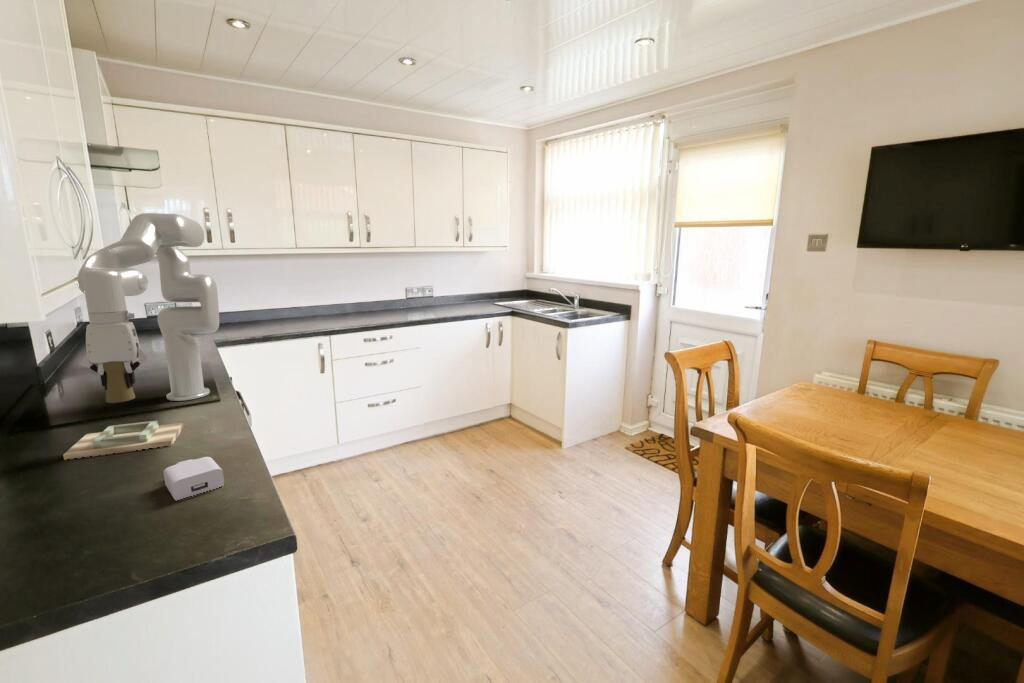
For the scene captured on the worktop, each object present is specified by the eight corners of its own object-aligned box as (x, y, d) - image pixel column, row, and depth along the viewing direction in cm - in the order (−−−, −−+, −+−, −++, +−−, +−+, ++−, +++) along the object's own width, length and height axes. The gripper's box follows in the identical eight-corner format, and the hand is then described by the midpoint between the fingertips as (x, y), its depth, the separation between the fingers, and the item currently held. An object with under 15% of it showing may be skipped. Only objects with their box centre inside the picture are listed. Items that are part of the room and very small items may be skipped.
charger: (206, 465, 113) (224, 487, 103) (159, 478, 107) (174, 503, 97) (203, 447, 113) (222, 467, 102) (156, 459, 106) (171, 482, 96)
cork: (132, 394, 127) (126, 354, 125) (138, 398, 123) (132, 358, 121) (103, 399, 122) (96, 358, 120) (108, 404, 118) (101, 362, 116)
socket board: (87, 439, 127) (85, 426, 126) (183, 427, 136) (182, 416, 135) (64, 460, 115) (61, 446, 114) (171, 445, 123) (169, 433, 123)
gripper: (153, 315, 125) (162, 380, 129) (73, 318, 119) (84, 387, 122) (144, 318, 118) (154, 388, 122) (59, 322, 112) (72, 395, 115)
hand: (119, 386), depth 122 cm, fingers closed on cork, 3 cm apart
